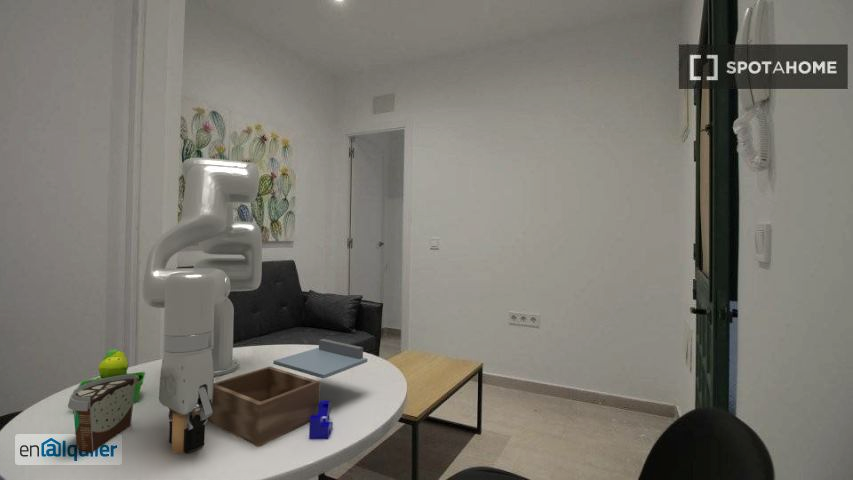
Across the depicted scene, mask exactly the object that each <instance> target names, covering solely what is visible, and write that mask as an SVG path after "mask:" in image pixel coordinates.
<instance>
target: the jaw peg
mask: <svg viewBox="0 0 853 480" xmlns="http://www.w3.org/2000/svg"><path fill="white" fill-rule="evenodd" d="M198 414H199V411H198V412H195V413H192V418H194V417H195V416H196V415H198ZM171 421H172V444H171V452H173V453H175V454H183V453H184V454H186V453H185V452H184V451H183V446H184V429H187V427H186V415H182V414H180V413H177V412H176V413H174V414H173V416H172V420H171Z"/></svg>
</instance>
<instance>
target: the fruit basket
mask: <svg viewBox="0 0 853 480" xmlns="http://www.w3.org/2000/svg"><path fill="white" fill-rule="evenodd" d="M102 359H103V360H102V361H101V362H100V363H99V365H98V366H97V367H98V368H97V369H98V372H99V376H100V377H99V376H98V377H96V378H92V379H85V380H83V381H81V382H80V384H79V385H78V386H77V388H78V387H80V386H82V385H84V384H87V383H90V382H93V381H96V380H100V379H104V378H109V377H114V376H121V375H132V374H136V377H137V384H135V391H134V401H133V404H135V403H136V402H138V398H139V395H140V391H141V388H142V385H143V383H144V380H145V376H146V372H145V371H140V372H131V373H128V372H127V371H128V368H129V362H128V360H127V358H126V354H125V353H124V352H123V351H120V349H111V350H109V351H107V352H106V354H105V356H104V357H103V358H102Z"/></svg>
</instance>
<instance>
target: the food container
mask: <svg viewBox="0 0 853 480" xmlns="http://www.w3.org/2000/svg"><path fill="white" fill-rule="evenodd" d="M135 384H137V377H136V374H132V375H121V376H114V377H109V378H104V379H100V380H96V381H93V382H90V383H87V384H84V385H82V386H80V387H78V386H77V387H76V388H75V389H74V390H73V392H72V394H71V395H70V397H69V401H68V404H67V407H68V409H70V410H72V411H73V420H74V431H75V433H74V434H75V442H76V443H75V445H76V449H77V451H80V452H83V453H93V452H95V451H96V450H97V449H99V448H100V447H102V446H104V444H107V442H109V441H111V440H112V439H113V438H115V437H117V436H118V435H119V434H121V433H123V431H125V430H126V429H128V428H130V427H132V420H133V410H134V403H133V401H134V391H135Z"/></svg>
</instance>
